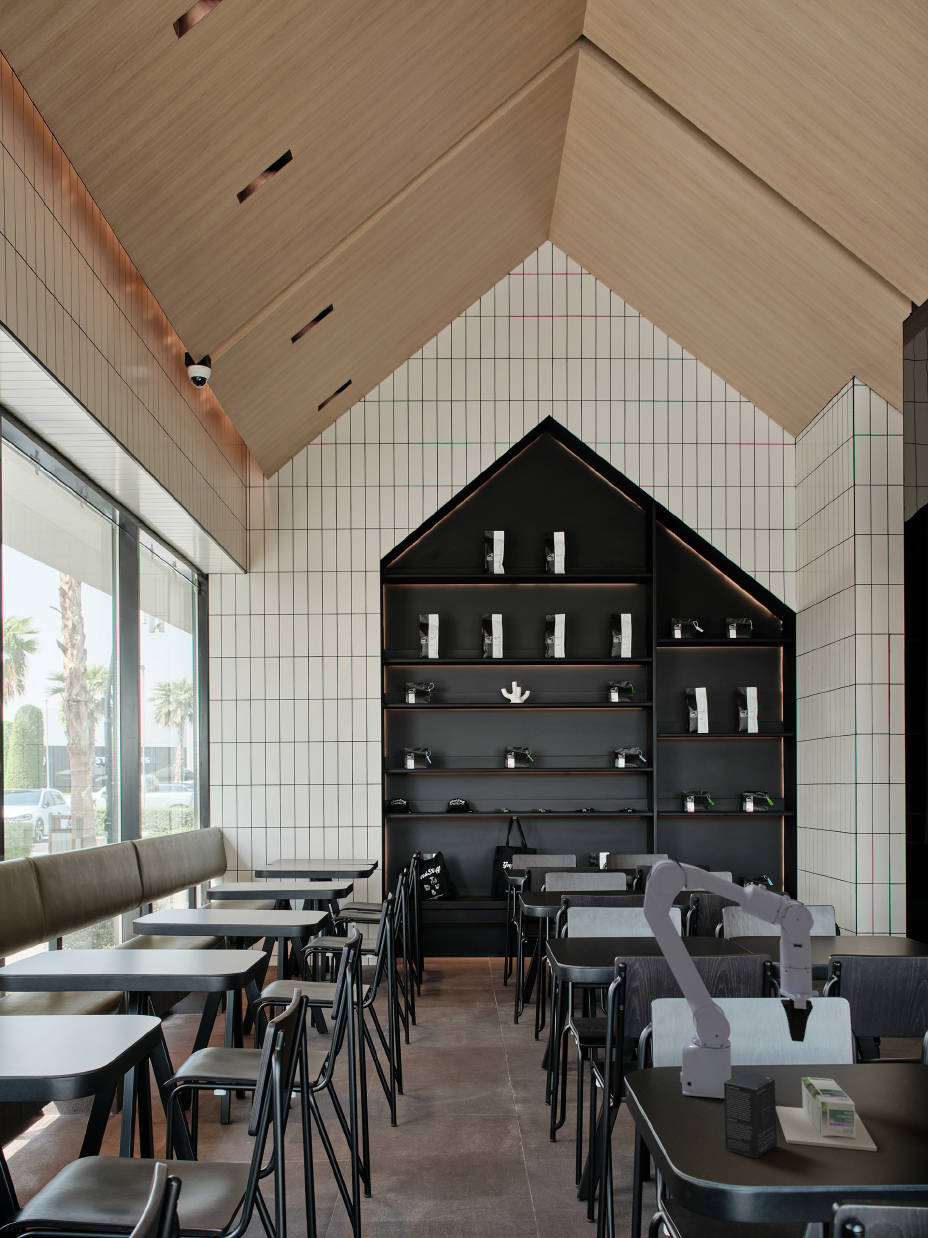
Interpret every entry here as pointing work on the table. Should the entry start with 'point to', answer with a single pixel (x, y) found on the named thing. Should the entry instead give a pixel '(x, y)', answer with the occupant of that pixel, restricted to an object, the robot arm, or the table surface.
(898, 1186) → the table surface
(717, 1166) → the table surface
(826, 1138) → the mat
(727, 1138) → the box
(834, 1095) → the syrup box
